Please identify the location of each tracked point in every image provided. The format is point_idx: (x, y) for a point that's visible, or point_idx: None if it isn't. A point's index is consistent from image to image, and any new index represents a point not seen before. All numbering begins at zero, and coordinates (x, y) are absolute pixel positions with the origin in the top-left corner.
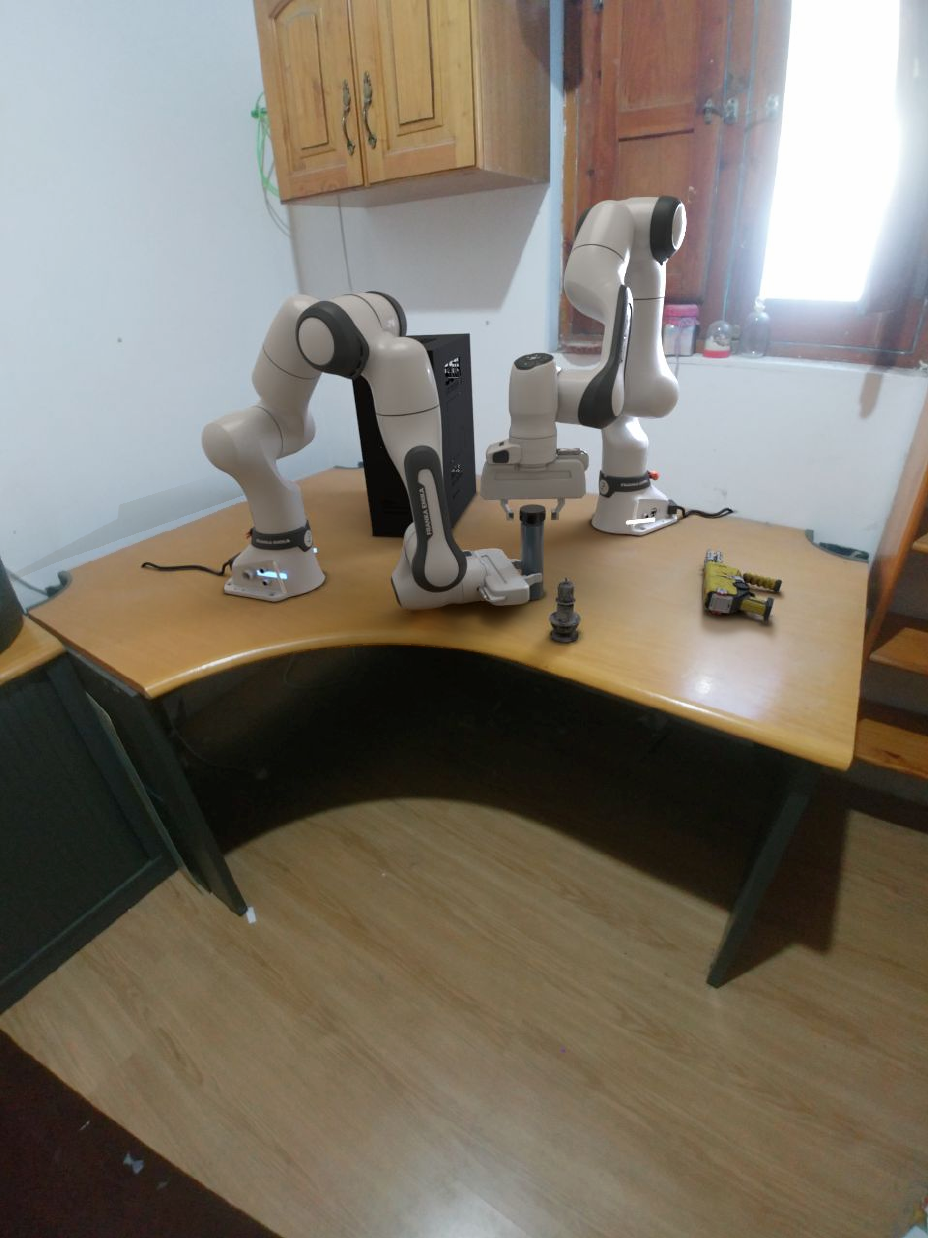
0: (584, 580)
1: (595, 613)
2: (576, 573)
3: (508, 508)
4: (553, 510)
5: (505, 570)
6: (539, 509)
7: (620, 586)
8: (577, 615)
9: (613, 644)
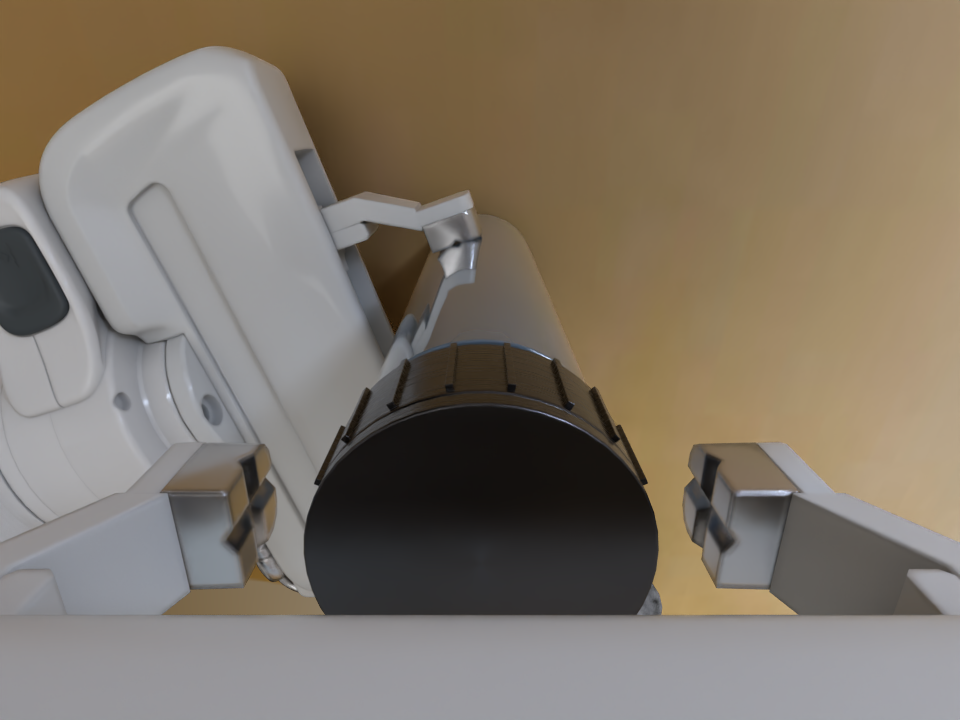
0: (762, 105)
1: (730, 425)
2: (739, 5)
3: (143, 552)
4: (754, 542)
5: (328, 410)
6: (573, 593)
7: (923, 180)
8: (652, 605)
9: (737, 601)
